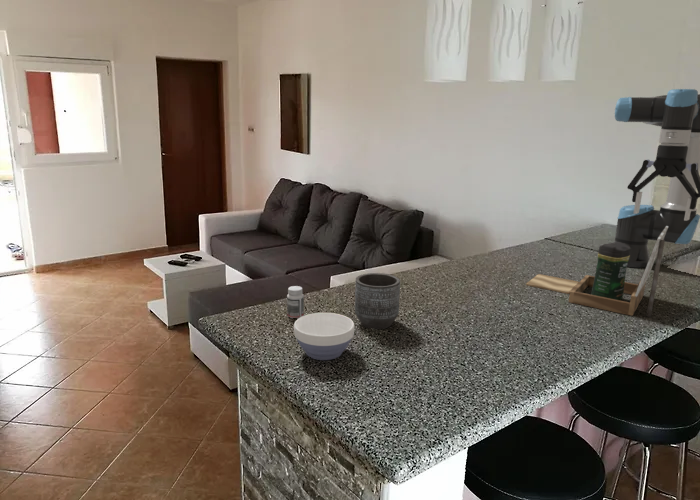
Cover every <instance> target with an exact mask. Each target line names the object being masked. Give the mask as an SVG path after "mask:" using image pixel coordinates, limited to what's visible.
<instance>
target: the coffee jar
mask: <svg viewBox="0 0 700 500" xmlns="http://www.w3.org/2000/svg"><path fill="white" fill-rule="evenodd" d="M630 250H631V248H630V246H629V245H628V244H625V243H621V242H614V241H613V242H610V243H604V244H601V245H599V247H598V252H597V264H596V269H595V275H594V276H595V278H594V283H593V287H591V292H590V295H595V296H600V297H605V298H610V299H615V300H620V301H622V299H623V297H624V293H623V292H624V283H625V282H626V274H627V264H628V260H629V257H630Z"/></svg>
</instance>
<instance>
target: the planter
mask: <svg viewBox="0 0 700 500" xmlns="http://www.w3.org/2000/svg"><path fill="white" fill-rule="evenodd" d="M354 287H355V290H354V313H355V315H356V317H357V319H358V321H359V322H360V324H361V325H362V326H363V327H364V328H367V327H368V328H367V329H370V328H372V329H371V330H384V328H385V329H387V328H389V327H391V326H392V325H393V323H394V322H395V320H396V319H397V317H398V316H399V314H400V296H401V295H400V293H401V280H400V278H399V277H397V276H395V275H392V274H388V273H383V272H382V273H380V272H369V273H364V274H360V275H358V276H356V278H355V286H354Z"/></svg>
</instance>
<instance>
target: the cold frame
mask: <svg viewBox="0 0 700 500" xmlns="http://www.w3.org/2000/svg"><path fill="white" fill-rule="evenodd" d="M667 229H668V226H666V227H665V229H664V230H663V231H662V233H661V234H660V236H659V237H658V239H657V241H655V244H654V246H653V249H652V252H651V254H650V255H649V258H650V259H649V261H648V264H647V266H646V267H645V270H644V272H643V274H642V276H641V279H640V281H639V283H633V282H627V281H625V283H624V292H623V294H627V295H631V296H630V301H629V302H628V301H625V300H615V299H610V298H605V297H600V296H595V295H591V293H590V294H589V293H584V291H585V290H586V289H587V288H588V287H590V288H592V287H593V283H594V278H595V275H594V276H593V275H589V274H586V275H584V277H583V278H582V279H581V280H580V281H578V282H579V283H578V284H577V285H576V286H575V287H574V288H573V289H572V290H571V291H570V293H569V296H568V303H571V304H575V305H576V304H577V305H581V306H584V307H585V306H586V307H591V308H594V309H599V310H603V311H609V312H613V313H618V314H622V315H627V316H633V315H634V314H635V312H636V310H637V308H638V306H639V304H640V303H641V301H642V299H643V297H644V293H645V289H646V285H647V283H646V282H647V280H648V279H649V276H650V273H651V271H652V268H653V266H654V271H653V276H652V282H651V288H650V293H649V297H648V298H649V299H648V305H647V310H646V316H647V317H652V314H653V313H652V311H653V306H654V302H655V295H656V291H657V286H658V285H657V284H658V280H659V275H660V274H659V273H660V268H661V264H662V257H663V252H664V248H665V243H666V242H665V240H663V239H664V236H665V234H666V231H667ZM654 264H655V265H654Z"/></svg>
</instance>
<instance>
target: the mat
mask: <svg viewBox="0 0 700 500" xmlns="http://www.w3.org/2000/svg"><path fill="white" fill-rule="evenodd" d="M579 282H580V281H577V280H572V279H568V278H562V277H556V276H551V275H546V274H542V273H541V274H540V273H537V274H536V275H535V276H534V277H532V279H530V280H529V281H527V282H526V283H525V286H529V287H533V288H537V289H544V290H549V291H553V292H558V293H563V294H569V295H570V291H571V290H572V289H573V288H574V287H575V286H576V285H577V284H578V283H579Z"/></svg>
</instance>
